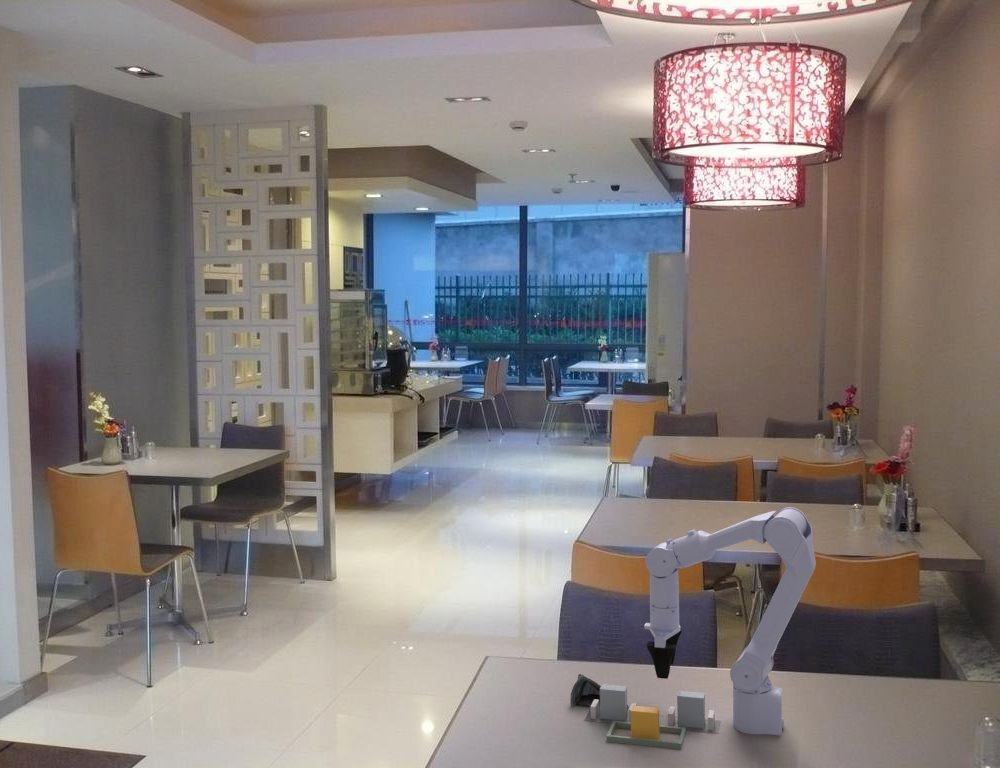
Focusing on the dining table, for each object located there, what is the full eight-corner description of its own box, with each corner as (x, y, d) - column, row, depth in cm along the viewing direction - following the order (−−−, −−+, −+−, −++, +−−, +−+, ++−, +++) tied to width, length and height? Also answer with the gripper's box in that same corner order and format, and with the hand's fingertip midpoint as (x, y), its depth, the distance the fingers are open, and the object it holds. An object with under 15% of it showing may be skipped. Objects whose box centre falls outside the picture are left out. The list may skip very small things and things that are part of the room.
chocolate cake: (636, 705, 211) (598, 659, 215) (632, 709, 204) (592, 661, 208) (602, 735, 212) (564, 689, 215) (597, 740, 205) (558, 692, 209)
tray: (685, 737, 194) (685, 727, 194) (681, 754, 187) (681, 743, 187) (613, 730, 198) (613, 720, 198) (606, 746, 191) (606, 735, 191)
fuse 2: (705, 722, 198) (704, 693, 197) (703, 728, 195) (703, 698, 195) (679, 720, 199) (678, 690, 199) (677, 725, 197) (677, 695, 196)
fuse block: (721, 725, 199) (720, 708, 198) (718, 738, 193) (718, 721, 193) (590, 713, 206) (590, 696, 206) (584, 725, 201) (583, 708, 200)
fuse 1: (627, 715, 202) (627, 686, 202) (625, 720, 200) (624, 691, 199) (602, 713, 204) (602, 684, 203) (600, 718, 201) (599, 689, 201)
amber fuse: (659, 738, 193) (659, 707, 192) (657, 744, 190) (657, 713, 190) (633, 735, 194) (633, 705, 194) (631, 741, 192) (630, 710, 191)
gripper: (649, 592, 210) (650, 656, 211) (638, 614, 196) (639, 682, 197) (684, 594, 208) (685, 658, 209) (675, 616, 194) (676, 685, 195)
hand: (665, 670), depth 203 cm, fingers open, 7 cm apart
